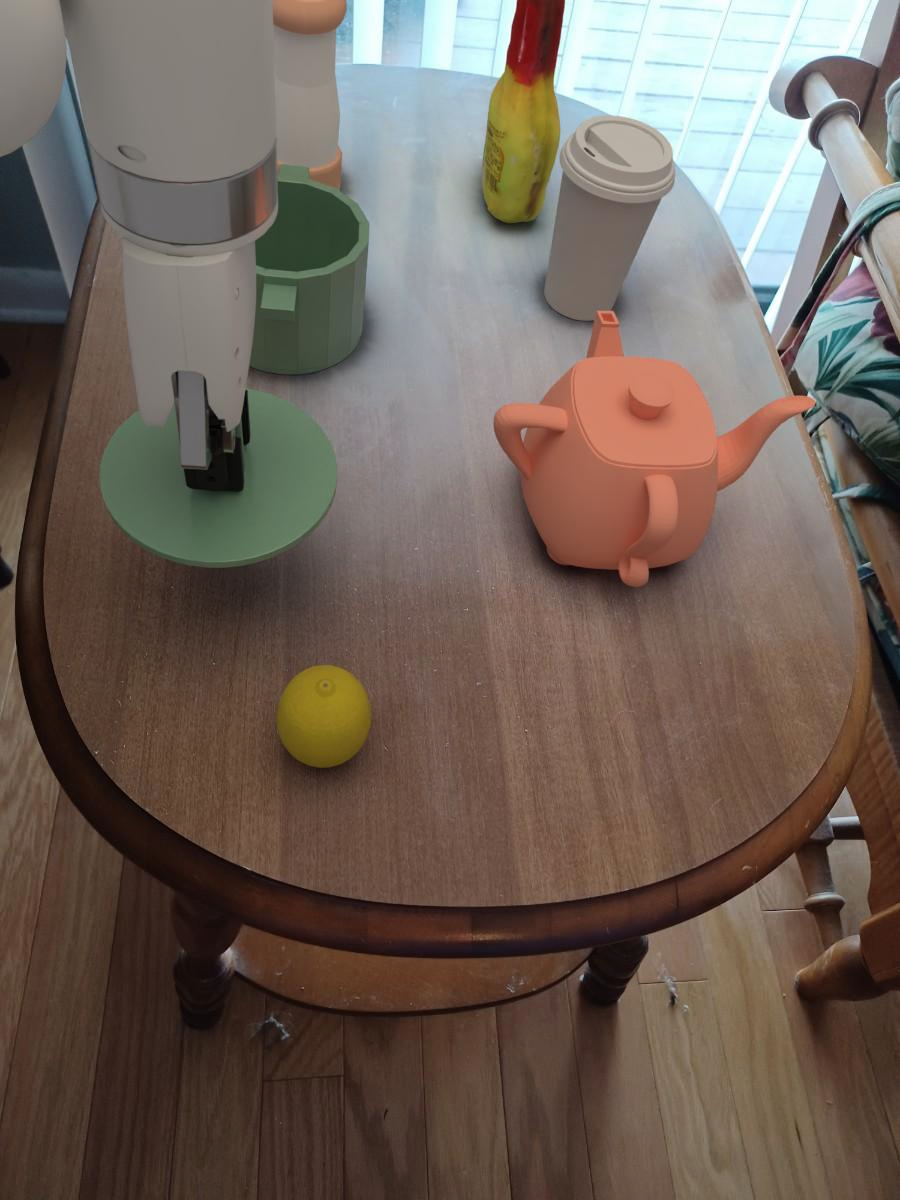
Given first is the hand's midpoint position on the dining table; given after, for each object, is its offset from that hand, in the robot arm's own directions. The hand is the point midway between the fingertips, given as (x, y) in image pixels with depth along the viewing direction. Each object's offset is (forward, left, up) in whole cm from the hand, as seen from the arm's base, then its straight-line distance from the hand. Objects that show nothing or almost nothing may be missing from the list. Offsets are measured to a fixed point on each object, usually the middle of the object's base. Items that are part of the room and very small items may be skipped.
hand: (219, 461), depth 55 cm
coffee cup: (+28, +34, -12) cm, 46 cm away
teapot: (+28, +9, -12) cm, 32 cm away
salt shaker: (+2, +47, -12) cm, 49 cm away
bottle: (+22, +48, -12) cm, 54 cm away
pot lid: (0, 0, -1) cm, 1 cm away
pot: (+2, +27, -12) cm, 30 cm away
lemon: (+7, -12, -12) cm, 19 cm away
